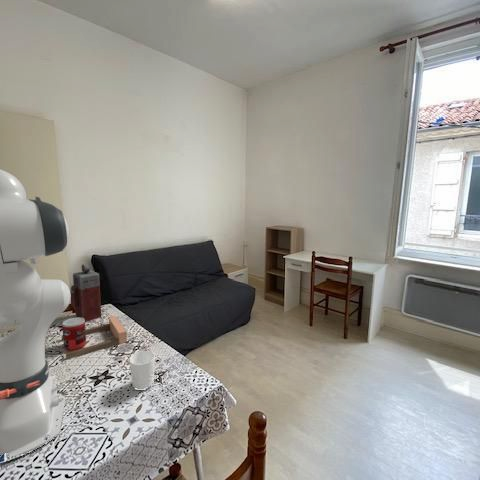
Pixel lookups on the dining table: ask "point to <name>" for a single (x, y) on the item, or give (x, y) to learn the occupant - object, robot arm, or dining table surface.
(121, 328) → the end stop
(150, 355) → the white cup
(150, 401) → the dining table surface
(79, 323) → the canned food
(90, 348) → the guide rails
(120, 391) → the dining table surface
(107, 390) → the dining table surface
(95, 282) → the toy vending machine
